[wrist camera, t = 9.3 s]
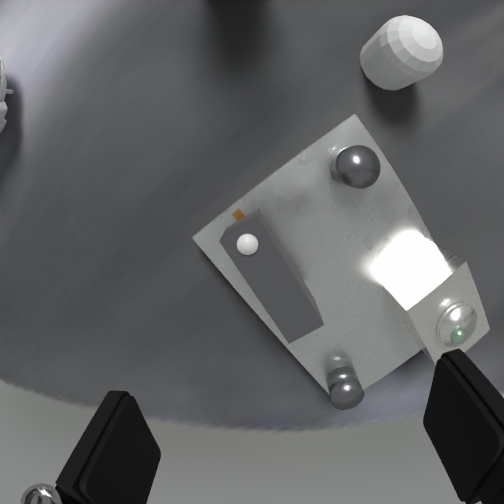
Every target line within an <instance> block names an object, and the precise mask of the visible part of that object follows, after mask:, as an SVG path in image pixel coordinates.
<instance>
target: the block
mask: <svg viewBox="0 0 504 504" xmlns="http://www.w3.org/2000/svg"><path fill="white" fill-rule="evenodd" d="M219 242H220V243H221V245H222V246H223V248H224V249H225V251H226V252H227V254H228V255H229V257H230V258H231V260H232V261H233V263H234V264H235V266H236V267H237V269H238V270H239V272H240V273H241V275H242V276H243V278H244V279H245V281H246V282H247V284H248V285H249V286H250V288H251V289H252V291H253V292H254V294H255V295H256V297H257V298H258V300H259V301H260V303H261V304H262V306H263V307H264V308H265V310H266V311H267V313H268V314H269V316H270V317H271V319H272V320H273V322H274V323H275V324H276V326H277V327H278V329H279V330H280V332H281V333H282V335H283V336H284V337H285V339H286V340H287V342H288V343H289V344H290V343H292V342H294V341H296V340H298V339H299V338H301V337H303V336H305V335H307V334H309V333H311V332H312V331H314V330H316V329H318V328H320V327H322V326H323V325H324V322H323V320H322V317H321V314H320V312H319V309H318V306H317V304H316V301H315V299H314V297H313V295H312V294H311V292H310V290H309V289H308V287H307V286H306V284H305V282H304V281H303V279H302V277H301V276H300V274H299V272H298V271H297V269H296V268H295V266H294V264H293V263H292V261H291V259H290V258H289V256H288V255H287V253H286V251H285V250H284V248H283V246H282V245H281V243H280V242H279V240H278V238H277V237H276V235H275V234H274V232H273V230H272V229H271V227H270V226H269V224H268V222H267V221H266V219H265V218H264V216H263V215H262V213H261V211H260V210H259V208H257V209H256V210H254V211H252V212H251V213H249V214H248V215H246V216H244V217H243V218H241V219H240V220H238V221H236V222H235V223H233V224H232V225H230V226H228V227H227V228H226V229H225V231H224V233H223V235H222V237H221V239H220V240H219Z"/></svg>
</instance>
